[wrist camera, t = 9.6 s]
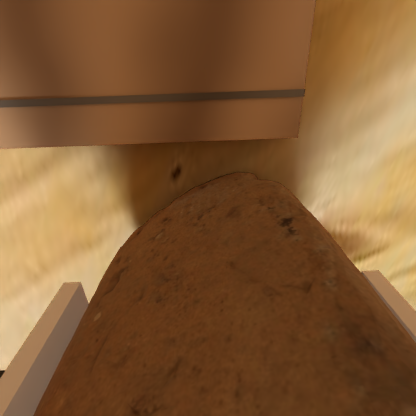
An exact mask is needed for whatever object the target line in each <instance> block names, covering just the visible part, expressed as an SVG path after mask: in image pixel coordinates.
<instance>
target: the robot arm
mask: <svg viewBox="0 0 416 416" xmlns="http://www.w3.org/2000/svg"><path fill="white" fill-rule="evenodd" d="M361 273H362V275H363V276H364V277H365V278H366V279H367V280H368V282H369V283H370V284H371V286H372V287H373V288H374V290H375V291H376V292H377V294H378V295H379V296H380V298H381V299H382V300H383V302H384V303H385V304H386V305H387V307H388V308H389V309H390V311H391V312H392V313H393V314H394V316H395V317H396V318H397V319H398V321H399V322H400V323H401V324H402V326H403V327H404V328H405V329H406V331H407V332H408V333H409V334H410V336H411V337H412V338H413V340H414V341H415V342H416V311H415V310H414V309H413V308H412V307H411V306H410V305H409V303H408V302H407V301H406V300H405V299H404V298H403V297H402V296H401V295H400V294H399V292H398V291H397V290H396V289H395V288H394V287H393V286H392V285H391V284H390V282H389V281H388V280H387V279H386V278H385V277H384V276H383V275H382V274H381V273H380V271H379V270H376V271H362V272H361ZM88 305H89V304H88V301H87V298H86V295H85V293H84V290H83V287H82V284H81V282H71V283H63V285H62V286H61V288H60V289H59V291H58V292H57V294H56V295H55V297H54V298H53V300H52V301H51V303H50V304H49V306H48V307H47V309H46V310H45V312H44V313H43V315H42V316H41V318H40V319H39V321H38V322H37V324H36V325H35V327H34V328H33V330H32V331H31V333H30V334H29V336H28V337H27V339H26V340H25V342H24V343H23V345H22V347H21V348H20V350H19V351H18V353H17V354H16V356H15V357H14V359H13V360H12V362H11V363H10V365H9V366H8V368H7V369H6V370H3V371H0V416H33V415H34V413H35V411H36V408H37V406H38V404H39V402H40V400H41V398H42V396H43V394H44V392H45V390H46V388H47V386H48V384H49V382H50V380H51V378H52V376H53V374H54V372H55V370H56V368H57V366H58V364H59V362H60V360H61V358H62V356H63V354H64V352H65V350H66V348H67V346H68V344H69V342H70V341H71V339H72V337H73V335H74V333H75V331H76V329H77V327H78V325H79V322H80V321H81V319H82V317H83V315H84V313H85V311H86V309H87V307H88Z"/></svg>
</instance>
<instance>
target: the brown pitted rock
mask: <svg viewBox="0 0 416 416" xmlns="http://www.w3.org/2000/svg"><path fill="white" fill-rule="evenodd" d="M33 416H416V342H415V341H414V340H413V338H412V337H411V336H410V334H409V333H408V332H407V331H406V329H405V328H404V327H403V326H402V324H401V323H400V322H399V321H398V319H397V318H396V317H395V316H394V314H393V313H392V312H391V311H390V309H389V308H388V307H387V305H386V304H385V303H384V302H383V300H382V299H381V298H380V296H379V295H378V294H377V292H376V291H375V290H374V288H373V287H372V286H371V284H370V283H369V282H368V280H367V279H366V278H365V277H364V276H363V275H362V273H361V272H360V271H359V270H358V269H357V268H356V266H355V265H354V264H353V263H352V262H351V261H350V260H349V258H348V257H347V256H346V254H345V253H344V252H343V250H342V249H341V247H340V246H339V245H338V244H337V243H336V242H335V240H334V239H333V237H332V236H331V235H330V234H329V232H328V231H327V230H326V229H325V228H324V227H323V226H322V225H321V224H320V222H319V221H318V220H317V219H316V218H315V217H314V216H313V215H312V214H311V212H309V211H308V210H307V209H306V208H305V207H304V206H303V205H302V203H301V202H300V201H299V200H298V199H297V198H296V197H295V196H294V195H293V194H292V193H291V192H290V191H289V190H288V189H287V188H285V187H284V186H283V185H281V184H280V183H278V182H273V181H269V180H258V179H257V177H256V176H255V175H253V174H252V173H242V172H239V173H233V174H229V175H225V176H222V177H219V178H217V179H214V180H212V181H209V182H207V183H205V184H203V185H200V186H197V187H195V188H193V189H191V190H189V191H188V192H186V193H185V194H183V195H182V196H180V197H178V198H176V199H175V200H174V201H173V202H172V203H171V204H170V205H169V206H168V207H167V208H165V209H162V210H160V211H159V212H157V213H156V214H155V215H154V216H153V217H152V218H150V219H149V220H148V221H147V222H146V223H145V224H144V225H143V226H141V227H139V228H138V229H137V230H136V231H134V232H133V234H132V235H131V236H130V237H129V238H128V240H127V241H126V242H125V244H124V245H123V246H122V247H120V249H119V251H118V252H117V254H116V255H115V257H114V259H113V260H112V262H111V264H110V265H109V267H108V269H107V270H106V272H105V274H104V276H103V278H102V280H101V281H100V283H99V285H98V288H97V290H96V292H95V294H94V296H93V297H92V299H91V301H90V303H89V305H88V307H87V309H86V311H85V313H84V315H83V317H82V319H81V321H80V322H79V325H78V327H77V329H76V331H75V333H74V335H73V337H72V339H71V341H70V342H69V344H68V346H67V348H66V350H65V352H64V354H63V356H62V358H61V360H60V362H59V364H58V366H57V368H56V370H55V372H54V374H53V376H52V378H51V380H50V382H49V384H48V386H47V388H46V390H45V392H44V394H43V396H42V398H41V400H40V402H39V404H38V406H37V408H36V411H35V413H34V415H33Z"/></svg>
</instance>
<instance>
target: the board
mask: <svg viewBox="0 0 416 416" xmlns="http://www.w3.org/2000/svg"><path fill="white" fill-rule="evenodd" d="M315 4H316V0H0V149H9V148H36V147H62V146H89V145H116V144H143V143H170V142H196V141H223V140H250V139H277V138H298V132H299V124H300V117H301V109H302V102H303V96H304V93H305V89H304V87H305V79H306V72H307V64H308V57H309V49H310V42H311V34H312V27H313V19H314V11H315Z"/></svg>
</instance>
